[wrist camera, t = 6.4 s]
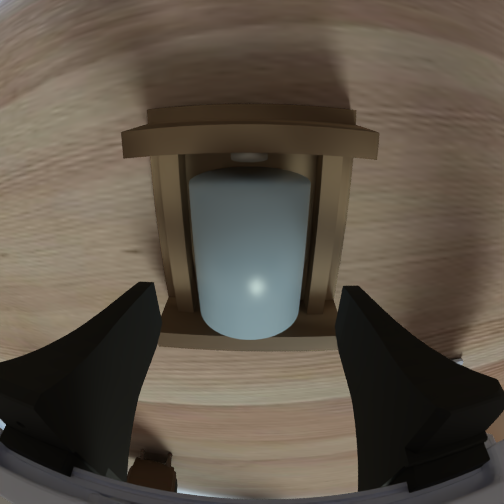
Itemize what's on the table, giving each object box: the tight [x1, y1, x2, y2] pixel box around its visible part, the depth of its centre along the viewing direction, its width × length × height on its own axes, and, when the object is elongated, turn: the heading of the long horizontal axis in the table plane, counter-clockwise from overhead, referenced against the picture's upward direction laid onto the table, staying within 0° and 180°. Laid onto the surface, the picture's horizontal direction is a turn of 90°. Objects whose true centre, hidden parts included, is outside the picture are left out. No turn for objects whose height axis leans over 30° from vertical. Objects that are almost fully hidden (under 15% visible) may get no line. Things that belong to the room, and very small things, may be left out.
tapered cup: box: [189, 167, 311, 340], centre depth 15 cm, size 7×5×5 cm
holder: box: [121, 104, 379, 351], centre depth 16 cm, size 14×11×4 cm
